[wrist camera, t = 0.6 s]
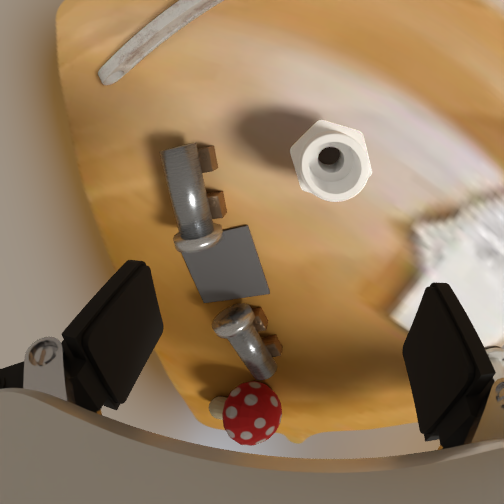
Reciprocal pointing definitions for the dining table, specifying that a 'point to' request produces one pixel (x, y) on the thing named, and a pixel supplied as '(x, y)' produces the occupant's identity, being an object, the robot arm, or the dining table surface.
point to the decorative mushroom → (248, 412)
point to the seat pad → (228, 268)
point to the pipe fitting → (335, 175)
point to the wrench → (152, 37)
